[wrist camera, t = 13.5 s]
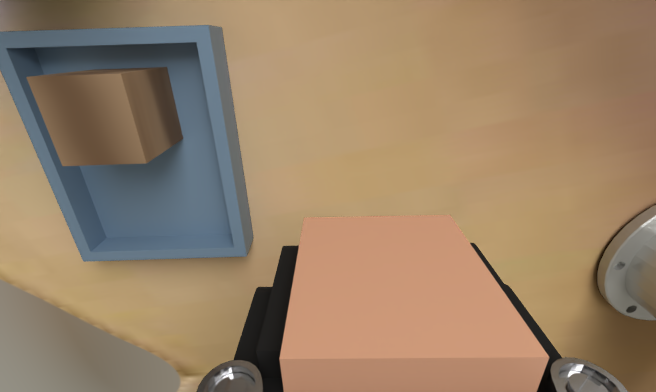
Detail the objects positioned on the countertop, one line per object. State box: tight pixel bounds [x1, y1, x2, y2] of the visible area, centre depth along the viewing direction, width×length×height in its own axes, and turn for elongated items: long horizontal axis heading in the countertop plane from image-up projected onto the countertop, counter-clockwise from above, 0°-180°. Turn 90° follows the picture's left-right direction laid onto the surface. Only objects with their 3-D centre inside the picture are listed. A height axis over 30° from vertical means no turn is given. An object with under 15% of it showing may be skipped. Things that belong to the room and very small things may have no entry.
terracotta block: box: [280, 215, 549, 392], centre depth 9 cm, size 4×4×5 cm
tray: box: [0, 25, 253, 261], centre depth 22 cm, size 12×15×2 cm
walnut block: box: [26, 67, 183, 166], centre depth 18 cm, size 4×4×5 cm
